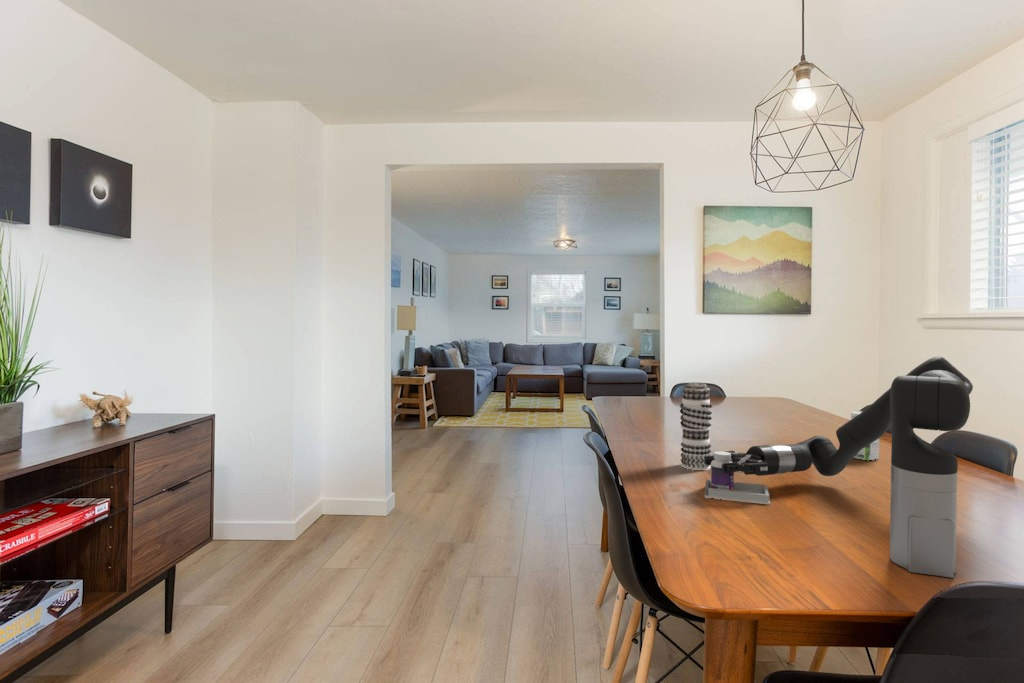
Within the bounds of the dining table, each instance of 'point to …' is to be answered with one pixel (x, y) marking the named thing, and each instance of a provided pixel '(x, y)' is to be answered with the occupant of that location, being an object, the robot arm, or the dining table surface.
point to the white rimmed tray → (740, 493)
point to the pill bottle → (717, 476)
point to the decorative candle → (695, 426)
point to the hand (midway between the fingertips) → (713, 464)
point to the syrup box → (867, 447)
